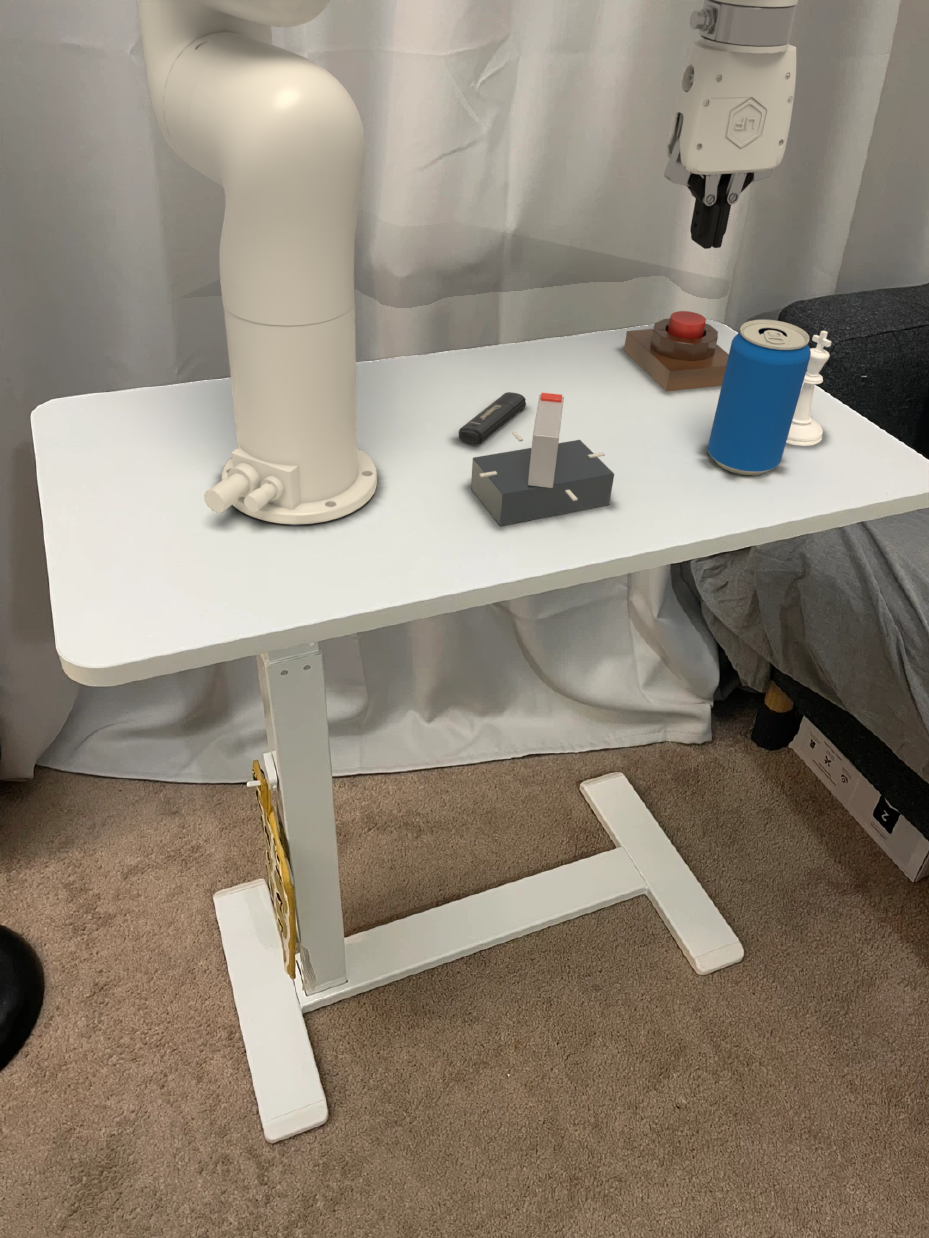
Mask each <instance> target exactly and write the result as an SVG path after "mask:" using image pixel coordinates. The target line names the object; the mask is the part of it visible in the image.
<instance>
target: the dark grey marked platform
mask: <svg viewBox="0 0 929 1238" xmlns="http://www.w3.org/2000/svg"><path fill="white" fill-rule="evenodd" d="M511 434H512V436H513V437H514V438H515V439H516V440H517V441H518V442H523V441H524V438H523V437H522V436H521V435H520V434H519V433H518V432H517V431H514V432H513V431H512V432H511ZM531 448H532V447H528V448H522V449H516V450H509V451H504V452H499V453H493V454H487V455H486V454H485V455H481V456H475V457H472V464H471V478H470V479H471V480H470V489H471V491H472V492H473V493H474V495H475V496H476V497H477V499H478V500H479V501H480V502H481V504H482V505H483V506H484V508H485V509H486V510H487V511H488V513H489V515H491V517H492V518H493V519H494V520H495V522H496V523H497V524H498V526H500V527H503V526H504V527H505V526H508V525H514V524H519V523H524V522H529V521H534V520H539V519H544V518H548V517H549V518H550V517H555V516H560V515H565V514H569V513H575V512H579V511H584V510H585V511H586V510H591V509H595V508H596V509H597V508H600V507H605V506H609V505H610V504H611V503H610V502H611V497H612V491H613V485H614V480H615V479H614V478H615V473H614V472H613V471H612V470H611V469H610V468H609V467H608V466H607V465H606V464H605V463H604V462H603V461H602V460H601V458H600V457H605V453H604V451H602V452H596V453H594V452H593V451H592V450H591V449H590V448H589V447H588V446H587V445H586V444H585V443H584V442H583V441H582V440H581V439H575V440H568V441H564V442H559V443H558V451H557V459H556V467H555V475H554V483H553V488H547V487H538V486H529V485H528V477H529V467H530V458H531Z"/></svg>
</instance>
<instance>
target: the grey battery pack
mask: <svg viewBox="0 0 929 1238" xmlns="http://www.w3.org/2000/svg"><path fill="white" fill-rule="evenodd" d="M564 402H565V397H564V396H563V394H561V393H552V392H551V393H549V392H541V393H540V394H539V396H538V402H537V407H536V408H537V409H536V414H535V419H534V420H535V421H534V425H533V432H532V438H531V439H532V440H531V447H530V448H531V458H530V467H529V477H528V485H529V486H538V487H547V488H553V483H554V475H555V467H556V459H557V451H558V443H560V436H561V435H560V433H561V425H562V419H563V418H562V416H563V409H564Z"/></svg>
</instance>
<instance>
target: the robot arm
mask: <svg viewBox="0 0 929 1238" xmlns="http://www.w3.org/2000/svg"><path fill="white" fill-rule="evenodd" d="M798 2H799V0H704V1H703V8H701V9H700V10H694V11H692V13H691V14H690V17H689V25H690V29H692V30H698V35H699V40H694V41H693V42H692V44H691V47H690V50H689V52H688V55H687V58H686V61H685V63H684V67H683V69H682V73H681V77H680V81H679V84H678V88H677V92H676V95H675V99H674V100H675V101H674V104H673V109H672V113H671V118H670V123H669V128H668V135H667V141H666V142H667V143H666V155H667V158H668V162H667V165H666V168H665V170H664V173H663V176H664V178H665V179H666V180H667V181H669V182H671V183H673V184H676V185H680V186H684V187H687V189H688V190H689V191H690V195H691V196H692V197H693V198H694V206H693V211H692V217H691V223H690V230H689V231H690V238H691V240H692V241H693V242H694V243H696V245H699V246H700V247H701V248H703V249H704V250H707V249H708V250H709V249H712V248H714V249H720V248H721V247H722V245H723V239H724V236H725V234H726V232H727V228H728V224H729V219H730V213H731V209H732V208H731V207H732V206H733V205H735V204H736V203H738V201H739V199H740V195H741V194H742V193H743V192H744V191H745V190H746V188H747V187H748V186H750V184H751V183H753V182H755V183H756V182H757V181H761V180H764V179H766V178H769V177H770V176H771V175H772V174H773V171H774V169H775V168H777V167H778V166H779V165H780V164H781V163H782V160H783V159H784V155H785V152H786V148H787V145H788V140H789V139H788V138H789V134H790V127H791V121H792V115H793V107H794V100H795V93H796V92H795V91H796V80H797V47H796V46H794V45H792V44H790V41H791V35H792V31H793V27H794V22H795V17H796V13H797V8H798ZM330 3H331V0H136V7H137V14H138V22H139V28H140V29H139V31H140V37H141V44H142V46H141V47H142V52H143V59H144V67H145V74H146V80H147V81H146V82H147V88H148V93H149V99H150V103H151V108H152V111H153V114H154V117H155V121H156V123H157V126H158V128H159V131H160V133H161V135H162V137H163V138H164V140H165V142H166V143H167V145H168V146H169V147H170V149H171V150H172V151H173V152H174V153H175V154H176V155H177V156H178V157H179V158H180V159H181V160H182V161H183V162H184V163H186V164H187V165H188V166H190V167H191V168H192V169H194V170H196V171H197V172H198V173H200V174H201V175H204V176H205V177H207V178H208V179H210V180H211V181H213V182H215V183H216V184H218V185H219V186H220V187H222V188H223V190H224V215H223V223H222V228H221V235H220V242H219V253H218V255H219V258H218V259H219V260H218V263H219V264H218V265H219V280H220V291H221V302H222V306H223V307H222V308H223V318H224V326H225V335H226V337H225V338H226V344H227V345H226V346H227V355H228V364H229V374H230V384H231V385H230V386H231V394H232V403H233V405H232V406H233V413H234V423H235V432H236V440H237V441H236V442H237V443H236V444H237V448H235V449H234V450H233V451H232V452H231V457H230V458H229V460H228V461H227V462H226V463H225V465H224V467H223V469H222V472H221V480H220V481H219V482H217V483H216V484H214V485H213V486H211V487H210V488H209V489H208V490H206V491H205V492H204V494H203V497H204V498H203V499H204V503H205V504H206V506H207V507H208V508H209V510H211V511H212V512H214V513H216V514H222V513H223V512H224V511H226V510H228V508H230V507H232V506H233V507H234V508H235V509H237V510H238V511H239V512H241V513H244V514H245V515H247V516H249V517H252V518H254V519H258V520H261V521H264V522H269V523H274V524H281V525H311V524H312V525H313V524H319V523H325V522H329V521H333V520H336V519H340V518H343V517H344V516H348V515H349V514H352V513H354V512H355V511H357V510H359V509H361V508H362V507H363V506H364V505H366V503H367V502H369V501H370V500H371V498H372V497H373V495H374V494H375V493H376V489H377V486H378V481H377V480H378V471H377V467H376V464H375V462H374V461H373V460H372V458H371V457H370V456H369V455H368V454H367V453H366V452H365V451H363V450H361V449H360V448H358V409H357V407H358V403H357V402H358V401H357V397H358V396H357V354H356V353H357V346H356V345H357V343H356V340H357V339H356V338H357V337H356V304H355V303H356V302H355V244H356V243H355V242H356V241H355V240H356V228H357V217H358V210H359V203H360V197H361V191H362V187H363V180H364V175H365V165H366V155H367V154H366V136H365V130H364V125H363V122H362V117H361V115H360V112H359V111H358V108H357V106H356V104H355V102H354V100H353V98H352V96H351V95H350V93H349V92H348V90H347V89H346V87H345V86H344V85H343V84H342V83H341V82H340V81H339V79H337V78H336V77H335V76H334V75H333V74H332V73H331V72H329V71H328V70H327V69H326V68H324V67H322V66H321V65H320V64H318V63H317V62H314V61H313V60H311V59H309V58H307V57H304V56H302V55H300V54H297V53H296V52H292V51H290V50H287V49H284V48H281V47H279V46H276V45H275V44H273V34H272V31H273V30H272V27H274V28H294V27H298V26H301V25H304V24H307V23H309V22H311V21H313V20H315V19H316V18H318V16H319V15H320V14H322V13H323V12H324V11H325V9H326V8H327V7H328V5H329V4H330Z"/></svg>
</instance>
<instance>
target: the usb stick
mask: <svg viewBox="0 0 929 1238" xmlns="http://www.w3.org/2000/svg"><path fill="white" fill-rule="evenodd" d="M526 400H527V399H526V397H525V396H524V395H523V394H522V393H521V394H520V393H518V392H511V391H509V392H507V391H506V392H504V393H503V394H501V396H499V397H498V398H497V399H495V400H494V401H493V402H491V403H490V405H488V406H487V407H486V408H484V409H483V410H482V411H481V412H479V413H478V414H477V415H475V417H473V418H472V419H470V420H469V421H468V422H466V424H464V425H463V426H461V427H460V428H459V429H458V438H459V439H460V440H461V441H463V442H465V443H467V444H470V445H481V444H483V442H485V441H486V440H488V438H490V437H491V436H492V435H494V433H496V432H497V431H498V430H499V429H501V428H502V427H504V425H506V423H508V422H509V421H510V420H511V419H513V418H514V417H516V415H517V414H518V413H520V412H521V411H522V410H524V409H525V407H526V406H527V402H526Z"/></svg>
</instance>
